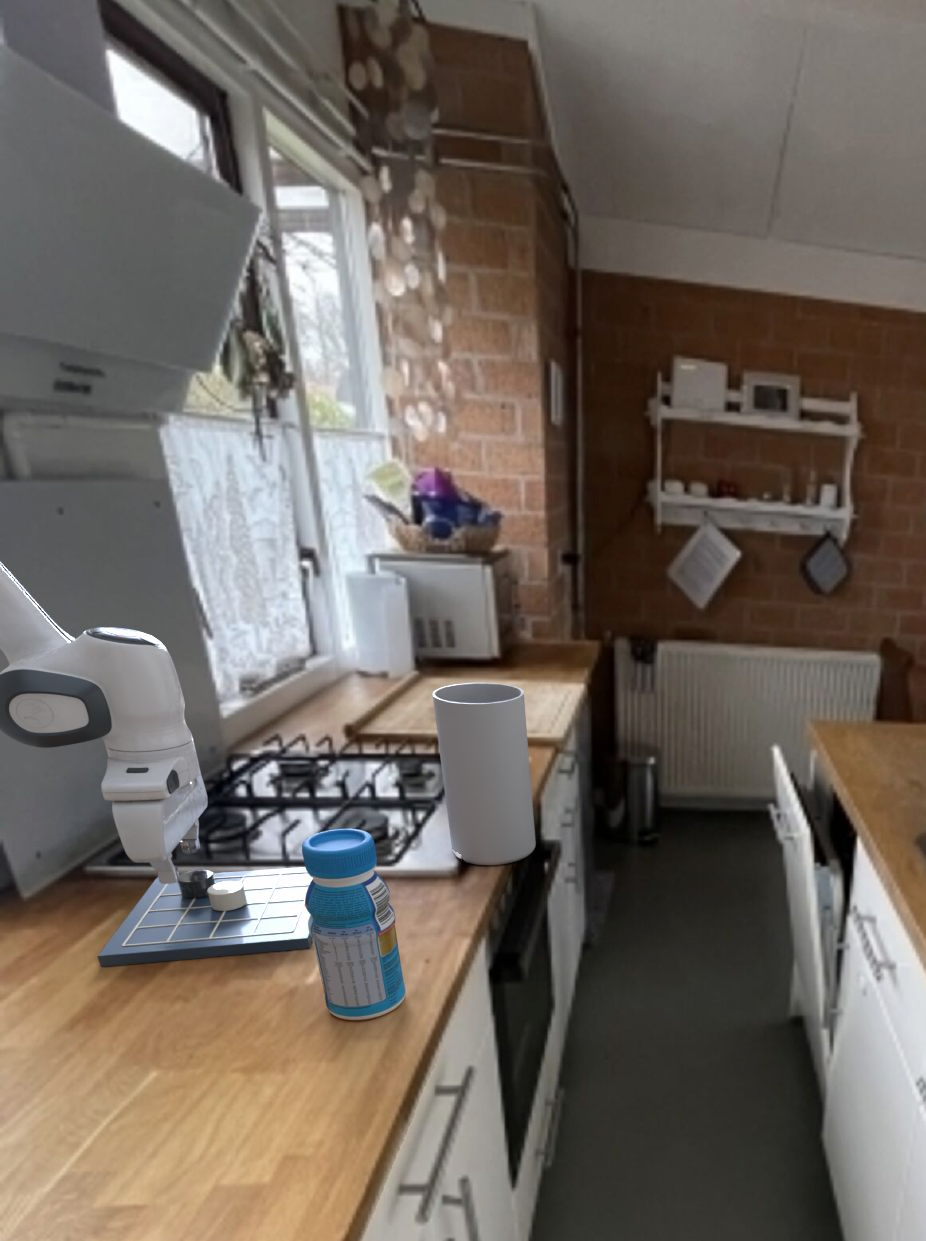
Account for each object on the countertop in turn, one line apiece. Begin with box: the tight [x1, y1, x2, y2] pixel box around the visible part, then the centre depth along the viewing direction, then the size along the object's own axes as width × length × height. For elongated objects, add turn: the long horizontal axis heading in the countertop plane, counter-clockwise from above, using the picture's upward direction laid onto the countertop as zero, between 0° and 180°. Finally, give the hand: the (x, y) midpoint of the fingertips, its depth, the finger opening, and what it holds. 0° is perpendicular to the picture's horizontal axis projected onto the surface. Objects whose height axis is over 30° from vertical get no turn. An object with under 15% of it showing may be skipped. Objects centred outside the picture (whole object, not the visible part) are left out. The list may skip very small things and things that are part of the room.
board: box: [97, 866, 313, 968], centre depth 115 cm, size 22×22×2 cm
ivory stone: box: [207, 881, 247, 911], centre depth 114 cm, size 4×4×2 cm
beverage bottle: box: [301, 828, 407, 1021], centre depth 95 cm, size 8×8×20 cm
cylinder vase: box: [432, 682, 537, 866], centre depth 133 cm, size 12×12×25 cm
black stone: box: [177, 869, 216, 898], centre depth 116 cm, size 4×4×2 cm
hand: (181, 866), depth 115 cm, fingers open, 8 cm apart
